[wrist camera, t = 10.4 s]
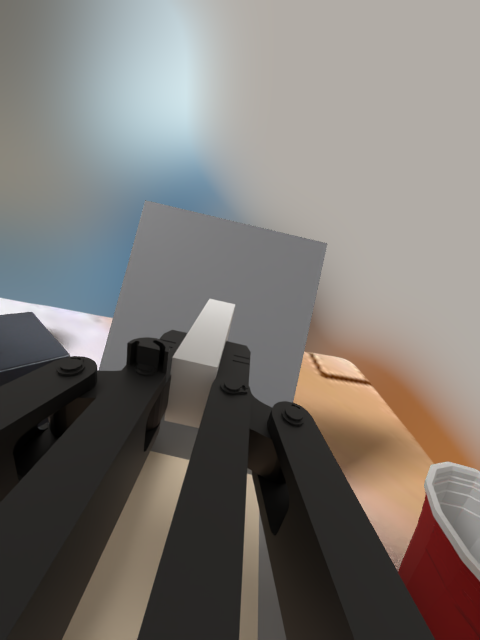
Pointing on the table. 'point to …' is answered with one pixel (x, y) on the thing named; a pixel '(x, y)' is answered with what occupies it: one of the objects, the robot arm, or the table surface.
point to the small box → (25, 347)
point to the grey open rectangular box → (147, 546)
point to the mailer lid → (220, 291)
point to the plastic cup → (447, 553)
